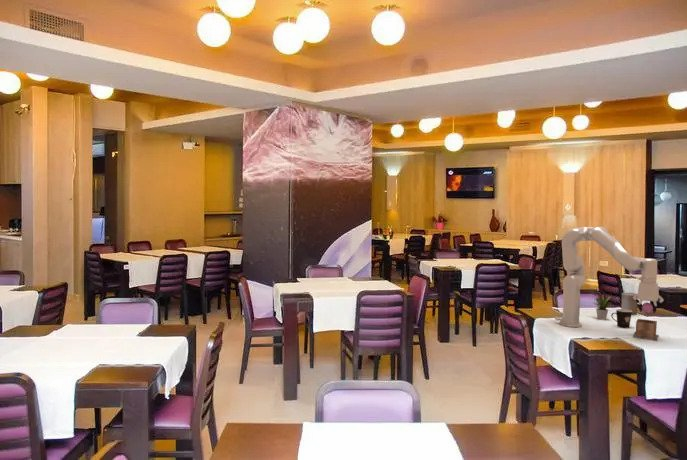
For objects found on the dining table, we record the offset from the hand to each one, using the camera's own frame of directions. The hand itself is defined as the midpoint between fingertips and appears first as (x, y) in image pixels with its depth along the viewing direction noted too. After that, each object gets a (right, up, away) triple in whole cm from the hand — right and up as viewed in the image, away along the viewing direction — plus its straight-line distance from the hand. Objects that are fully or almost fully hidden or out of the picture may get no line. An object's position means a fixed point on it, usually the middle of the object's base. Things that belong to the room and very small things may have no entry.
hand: (647, 311), depth 311 cm
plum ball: (0, -1, 0) cm, 1 cm away
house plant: (-6, -12, +46) cm, 48 cm away
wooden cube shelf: (0, -14, +1) cm, 14 cm away
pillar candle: (+22, -11, +63) cm, 67 cm away
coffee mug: (-3, -13, +25) cm, 28 cm away
